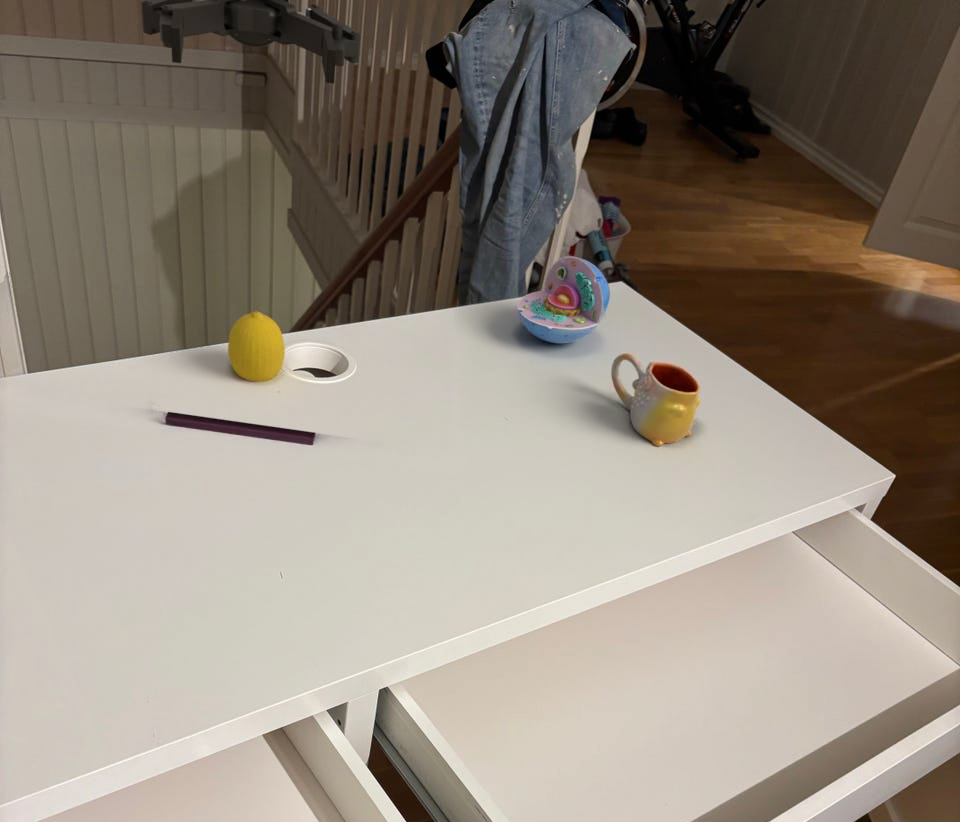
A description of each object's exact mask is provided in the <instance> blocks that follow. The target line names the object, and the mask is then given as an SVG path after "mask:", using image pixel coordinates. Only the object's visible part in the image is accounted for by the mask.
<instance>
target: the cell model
mask: <svg viewBox="0 0 960 822" xmlns="http://www.w3.org/2000/svg"><path fill="white" fill-rule="evenodd" d="M543 288H544V289H543V290H538V291H534V292H530V293H528V294H526V295H524V296H523V297H521V298H520V299H519V300H518V302H517V304H516V309H517V312H518V316H519V320H520V321H521V323H522V325H523V326H524V327H525V329H526V330H527V331H528V332H529V333H530V334H532V335H533V336H535V337H536V338H537V339H539V340H541V341H544V342H547V343H552V344H570V343H574V342H577V341H580V340H582V339H584V338H586V337H587V336H589V335H590V334H591V333H593V331H595V330H596V328H597V327H598V326H599V325H600V324H601V322H602V321H603V319H604V318H605V316H606V314H607V311H608V308H609V305H610V302H611V301H610V300H611V289H610V285H609V283H608V280H607V278H606V277H605V275H604V273H603V272H602V270H601V269H600V268H599V267H597V266H596V264H594V263H592V262H591V261H589V260H587V259H584V258H581V257H577V256H572V255H567V256H564V257H559V258H558V259H557V260H556V261H554V263H553V264H551V266H550V268H549V270H548V271H547V273H546V276H545V280H544V287H543Z"/></svg>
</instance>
